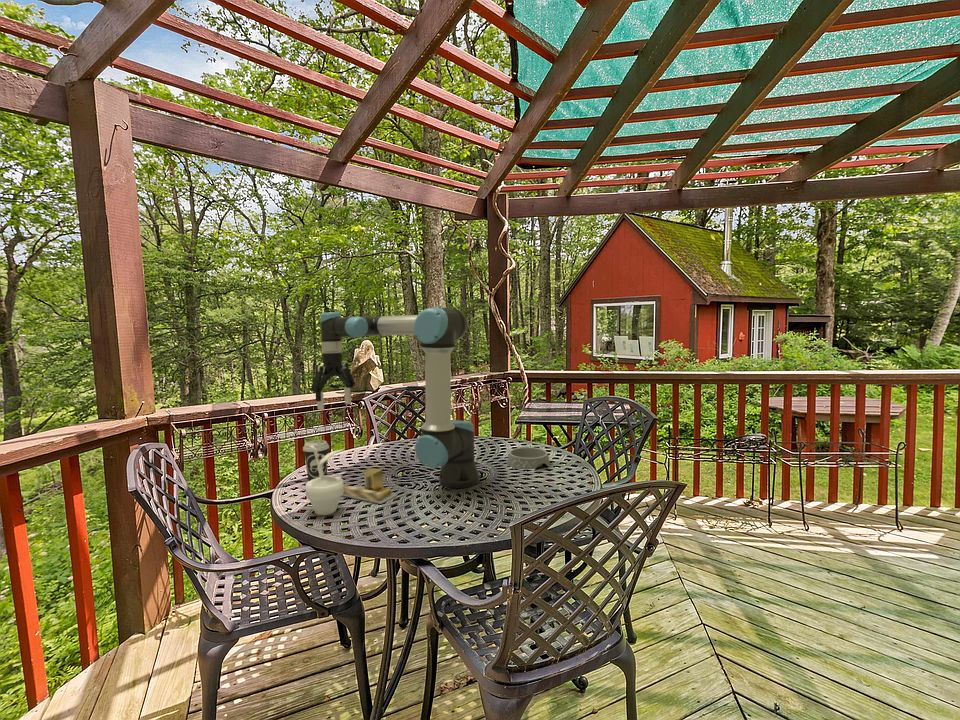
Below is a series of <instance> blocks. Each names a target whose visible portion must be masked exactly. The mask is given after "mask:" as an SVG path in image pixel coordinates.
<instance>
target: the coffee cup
mask: <svg viewBox="0 0 960 720" xmlns="http://www.w3.org/2000/svg"><path fill="white" fill-rule="evenodd" d="M319 441H320V443H321V444H323V445H322V446H321V448H320V450H319V447H317V445H318V442H319ZM312 445H313V446H314V447H315V448H316V449H317V454H319V458H318V462H319V463H320V460H321V459H322V455H324V456H325V455H327V454H328V453H329V448H330V445H329V444H328V441H326V440H323V439H322V440H320V439H317V440H311V441H307V442H305V443H304V446H303V447H302V451H303V453H304V459H305V465H306V466H305V467H306V472H307V480H308V481H310V480H313V479H316V478H319V477H320V476H319V472H318V469H317V465H318V464H317V462H316V458H315V454H314V450H313V448H310V447H309V446H312ZM317 457H318V456H317ZM321 466H322V469H323V473H324V476H327V475H328V460H327V461H325V462H324V463H323V464H321ZM308 481H307V482H308Z"/></svg>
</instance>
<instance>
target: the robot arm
mask: <svg viewBox="0 0 960 720" xmlns="http://www.w3.org/2000/svg"><path fill="white" fill-rule="evenodd" d="M319 319H320V320H319V321H320V322H319V324H320V338H321V339H320V340H321V341H320V342H321V352H322V354H321V357H322V358H321V359H322V360H321V361H322V363H323V366H322V365H317V366H316V370H315V371H316V372H315V374H314V375H315V376H314V379H313V381H312V384H311V387H310V392H313V393H315V401H316V402H317V403H316V405H317V410H319V411H324V410H325V403H324V402H325V401H324V392H322V391H323V390H324V388H325V386H326V385H327V382H328V380H329V379H330V378H331V377H338V378H339V381H341V382H342V383H343V385H344V386H345V387H343V389H344V391H343V393H344V404H345V405H346V404H347V405H351V404H352V397H351V395H352V388H354V386H355V385H356V382H355V379H354V377H353V375H352V373H351V371H350V368H349V367H350V366H349V363H346V362H343V360H344V359H343V353H342V351H343V343H342V341H343V340H342V338H360V337H367V336H368V337H369V336H371V337H375V336H415V337H417V340H418V341H420V349H421V350H422V351H423V352H424V353H425V354H424V356H425V357H424V359H425V360H424V361H425V362H424V364H425V365H424V367H425V369H424V372H425V373H424V374H425V380H424V381H425V383H424V384H425V387H424V388H425V391H424V392H425V394H424V395H425V396H424V397H425V422H424V423H423V424H422V425H420V426H421V427H420V428H421V429H420V432H421V433H420V434H421V435H420V436H419V437H418V439H417V440H416V441H415V444H414V452H415V455H416V457H417V459H418V460H419V461H420V462H421V464H422V465H423V466H426V467H427V468H430V469H431V468H432V469H435V468H438V467H441V469H440V472H439V476H438V483H440V484H439V485H440V486H442V487H444V488H448V489H467V487H468V488H470V487H471V486H472V487H475V486H477V485H478V484H479V483H480V474H479V469H478V467H477V465H476V462H475V428H474V424H473V423H472V422H471V421H468V420H458V419H457V420H456V419H455V420H454V419H451V407H452V404H451V403H452V401H451V400H452V399H451V398H452V397H451V392H452V391H451V386H452V385H451V382H452V381H451V372H452V371H451V362H452V361H451V360H452V359H451V353H452V352H453V351H454V349H456V340H459V339H460V338H463V336H464V335H465V334H466V332H467V329H468V323H469V322H468V319H467V317H466V315H465V313H463V311H462V310H460V309H458V308H455V307H436V306H435V307H428V308H425V309H423V310H422V311H420V312H419V314H410V315H409V314H408V315H405V314H404V315H383V316H379V315H378V316H377V315H376V316H345V317H344V316H343V317H341V313H340V312H338V311H336V312H335V311H334V312H331V311H330V312H329V311H328V312H322V313H320V318H319ZM476 484H477V485H476ZM474 485H475V486H474Z"/></svg>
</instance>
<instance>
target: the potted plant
mask: <svg viewBox="0 0 960 720" xmlns="http://www.w3.org/2000/svg"><path fill="white" fill-rule="evenodd" d="M322 445H323V444H321V443H320V441H319V442H318V445H317V447H319V450H320V448H321V446H322ZM309 447H310V448H313V450H314V454H315V458H316V462H317V464H318V465H317V469H318V472H319V476H320V477H319V478H316V479H313V480H310V481H307V482H306V483H305V498H306V499H308V500H309V502H310V504H311V506H312V509H313V512H314V513H315V514H316V515H318V516H329V515H331V514H334V513H335V512H337V508H338V505H339V501H340V498H341V496H343V492H344V485H345V484H344V479H343V478H342V477H339V476H332V475H331V476H330V475H328V474H327V476H324V473H323V469H322V466H321V464H323V463H324V462H325V461H327V462H328V461H329V459H330V458H331V457H333V456H334V455H335V454H338V453H340V452H343V451H345V448H342V449H336V450H333V451H331V452H328V454H327V455H325V456H324V455H322V459H321V460H320V463H319V462H318V458H319V454H317V449H316V448H315V447H314V446H313V445H312V446H309ZM317 456H318V457H317Z"/></svg>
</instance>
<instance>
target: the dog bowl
mask: <svg viewBox="0 0 960 720" xmlns="http://www.w3.org/2000/svg"><path fill="white" fill-rule="evenodd" d="M543 464H545V465H546V466H549V465H550V466H551V463H550V458H549V453H548V451H547V450H546V449H543V448H540V447H534V446H533V447H531V446H530V447H529V446H525V447H524V446H523V447H515V448H512V449H511V450H509V452H508V456H507V460H506V466H507V465H508V466H510V467H512V468H516V469H536V470H537V468H540V467H539V466H541V467H542V466H544V465H543ZM508 466H507V467H508ZM550 466H549V467H550Z"/></svg>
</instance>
